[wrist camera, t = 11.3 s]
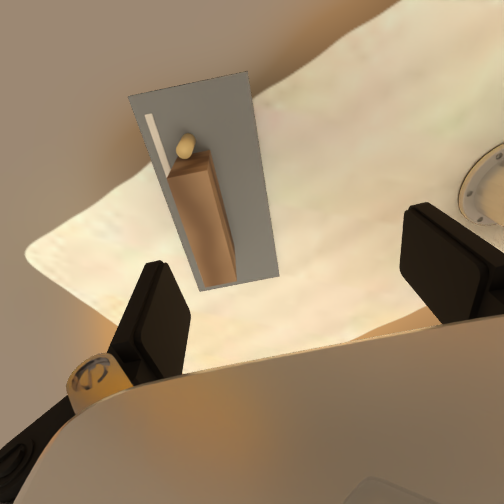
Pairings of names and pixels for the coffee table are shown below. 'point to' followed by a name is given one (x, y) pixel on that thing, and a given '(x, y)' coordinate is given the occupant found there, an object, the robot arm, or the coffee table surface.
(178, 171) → the wooden block
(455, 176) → the coffee table surface
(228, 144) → the board
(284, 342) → the coffee table surface
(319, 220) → the coffee table surface
